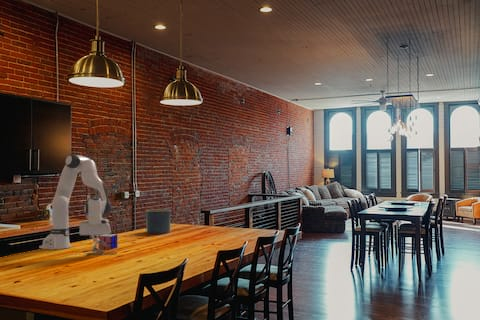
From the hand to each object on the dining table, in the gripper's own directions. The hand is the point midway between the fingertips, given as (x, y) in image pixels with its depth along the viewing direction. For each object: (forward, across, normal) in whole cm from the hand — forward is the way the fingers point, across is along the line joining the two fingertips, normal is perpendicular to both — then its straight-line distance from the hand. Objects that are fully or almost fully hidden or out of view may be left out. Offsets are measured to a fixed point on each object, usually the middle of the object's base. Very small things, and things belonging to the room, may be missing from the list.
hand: (95, 241), depth 303 cm
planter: (+10, +44, +95) cm, 105 cm away
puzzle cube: (+10, +7, +21) cm, 24 cm away
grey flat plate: (+9, +4, 0) cm, 10 cm away
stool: (+6, +6, 0) cm, 8 cm away
